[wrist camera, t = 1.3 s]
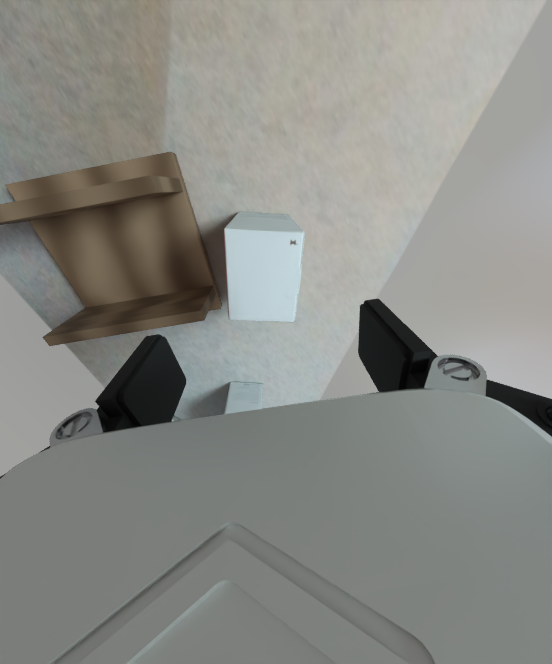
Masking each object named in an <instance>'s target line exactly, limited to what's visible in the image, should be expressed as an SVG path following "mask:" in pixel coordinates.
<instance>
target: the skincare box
mask: <svg viewBox="0 0 552 664" xmlns="http://www.w3.org/2000/svg"><path fill="white" fill-rule="evenodd" d="M262 402H263V384H260V383H244V382H230V387H229V391H228V396H227V401H226V406H225V410H224V414H229V413H235V412H242V411H249V410H256V409H262Z"/></svg>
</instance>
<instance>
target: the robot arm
mask: <svg viewBox="0 0 552 664" xmlns="http://www.w3.org/2000/svg"><path fill="white" fill-rule="evenodd" d="M358 353H359V357H360V359H361V361H362V362H363V364H364V366H365V368H366V370H367V371H368V373H369V375H370V377H371V379H372V380H373V382H374V384H375V385H376V387H377V389H378V391H379V392H377V393H369V394H362V395H355V396H348V397H341V398H334V399H326V400H319V401H312V402H305V403H298V404H291V405H284V406H277V407H270V408H263V409H256V410H249V411H242V412H235V413H229V414H222V415H215V416H208V417H201V418H194V419H187V420H178V419H177V418H176V417H174V413H175V411H176V408H177V406H178V403H179V401H180V398H181V395H182V393H183V390H184V388H185V385H186V378H185V375H184V373H183V371H182V369H181V367H180V365H179V363H178V361H177V359H176V357H175V355H174V353H173V351H172V349H171V347H170V345H169V343H168V341H167V339H166V338H165V337H162V336H161V335H159V334H158V335H151V336H146V337H145V338H144V340H143V341H142V342H141V343H140V345H139V346H138V347H137V348H136V350H135V351H134V352H133V354H132V355H131V356H130V357H129V359H128V360H127V361H126V363H125V364H124V365H123V366H122V368H121V369H120V370H119V371H118V373H117V374H116V375H115V377H114V378H113V379H112V380H111V382H110V383H109V384H108V385H107V387H106V388H105V389H104V391H103V392H102V393H101V394H100V396H99V397H98V398H97V400H96V401H95V402H96V403H97V404H98V405H99V408H98V409H97V410H96V409H93V408H88V409H83V410H80V411H78V412H76V413H74V414H72V415H70V416H69V417H67V418H66V419H64V420H63V421H62V422H61V423H60V424H59V425H58V426H57V427H56V428H55V429H54V430H53V432H52V434H51V436H50V446H49V447H47V448H46V449H44V450H42V451H41V452H39V453H38V454H36V455H34V456H32V457H30V458H28V459H27V460H25V461H23V462H21V463H20V464H18V465H16V466H15V467H13V468H12V469H11V470H10V471H8V472H7V473H6V474H4V475H3V476H1V477H0V664H552V399H550V398H546V397H543V396H539V395H536V394H533V393H530V392H526V391H523V390H520V389H516V388H513V387H510V386H507V385H503V384H500V383H497V382H493V381H490V380H487V375H486V371H485V370H484V368H483V367H482V366H481V365H479V364H478V363H476V362H475V361H473V360H471V359H468V358H465V357H462V356H457V355H442V356H437V355H436V354H435V353H434V352H433V351H432V350H431V349H430V348H429V347H428V346H427V345H426V344H425V343H424V342H423V341H422V340H421V339H420V338H419V337H417V335H416V334H415V333H414V332H413V331H411V330H410V329H409V328H408V327H407V326H406V325H405V324H404V323H403V322H402V321H401V320H400V319H399V318H398V317H397V316H396V315H395V314H394V313H393V312H392V311H391V310H390V309H389V308H388V307H387V306H385V305H384V304H383V303H382V302H381V301H380V300H379V299H372V300H366V301H365V302H364V304H361V305H360V321H359V348H358Z"/></svg>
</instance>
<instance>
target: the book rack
mask: <svg viewBox="0 0 552 664" xmlns="http://www.w3.org/2000/svg"><path fill="white" fill-rule="evenodd" d="M5 186H6V187H7V189H8V190H9V192H10V193H11V195H12V196H13V198H14V199H15V201H16V202H10V203H5V204H0V225H4V224H11V223H18V222H25V221H29V222H30V223H31V225H32V226H33V228H34V229H35V231H36V232H37V234H38V235H39V237H40V239H41V240H42V242H43V243H44V245H45V246H46V248H47V249H48V251H49V252H50V254H51V255H52V257H53V258H54V260H55V261H56V263H57V264H58V266H59V267H60V269H61V270H62V272H63V273H64V275H65V276H66V278H67V279H68V281H69V282H70V284H71V285H72V287H73V288H74V290H75V291H76V293H77V294H78V296H79V297H80V299H81V301H82V302H83V304H84V305H85V307H86V308H85V309H83V310H82V311H81V312H79V313H78V314H76V315H75V316H73V317H72V318H70V319H69V320H67V321H66V322H64V323H63V324H61V325H60V326H58V327H57V328H55V329H54V330H52V331H51V332H49V333H48V334H47V335H45V336H44V337H43V338H44V340H45V341H46V342H47V343H48V345H49V346H53V345H59V344H65V343H71V342H77V341H83V340H89V339H95V338H101V337H107V336H113V335H119V334H125V333H131V332H137V331H143V330H149V329H155V328H161V327H167V326H173V325H179V324H185V323H191V322H197V321H203V320H205V318H206V315H207V313H208V311H211V310H216V309H221V307H222V302H221V299H220V295H219V292H218V289H217V286H216V283H215V279H214V276H213V273H212V270H211V267H210V263H209V260H208V257H207V254H206V251H205V247H204V244H203V241H202V238H201V234H200V231H199V228H198V225H197V222H196V218H195V215H194V212H193V209H192V206H191V202H190V199H189V196H188V193H187V190H186V186H185V183H184V180H183V177H182V173H181V170H180V167H179V164H178V161H177V157H176V154H175V153H172V152H167V153H162V154H157V155H152V156H147V157H142V158H137V159H132V160H127V161H122V162H117V163H112V164H107V165H102V166H97V167H92V168H87V169H82V170H77V171H72V172H67V173H62V174H57V175H52V176H47V177H42V178H37V179H32V180H26V181H21V182H16V183H11V184H6V185H5Z"/></svg>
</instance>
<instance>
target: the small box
mask: <svg viewBox="0 0 552 664" xmlns="http://www.w3.org/2000/svg"><path fill="white" fill-rule="evenodd" d="M304 238H305V232H304V231H303V230H302V229H301V227H300V226H299V225H298V224H297V223H296V222H295V221H294V220H293V219H292V218H291V217H290V215H285V214H269V213H254V212H238V213H237V215H236V216H235V217H234V218H233V219H232V220H231V221H230V223H229V224H228V225H227V226H226V227H225V228H224V249H225V267H226V285H227V300H228V316H229V320H248V321H272V322H292V323H293V322H294V321H295V315H296V308H297V301H298V293H299V287H300V280H301V271H302V257H303V247H304Z"/></svg>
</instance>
